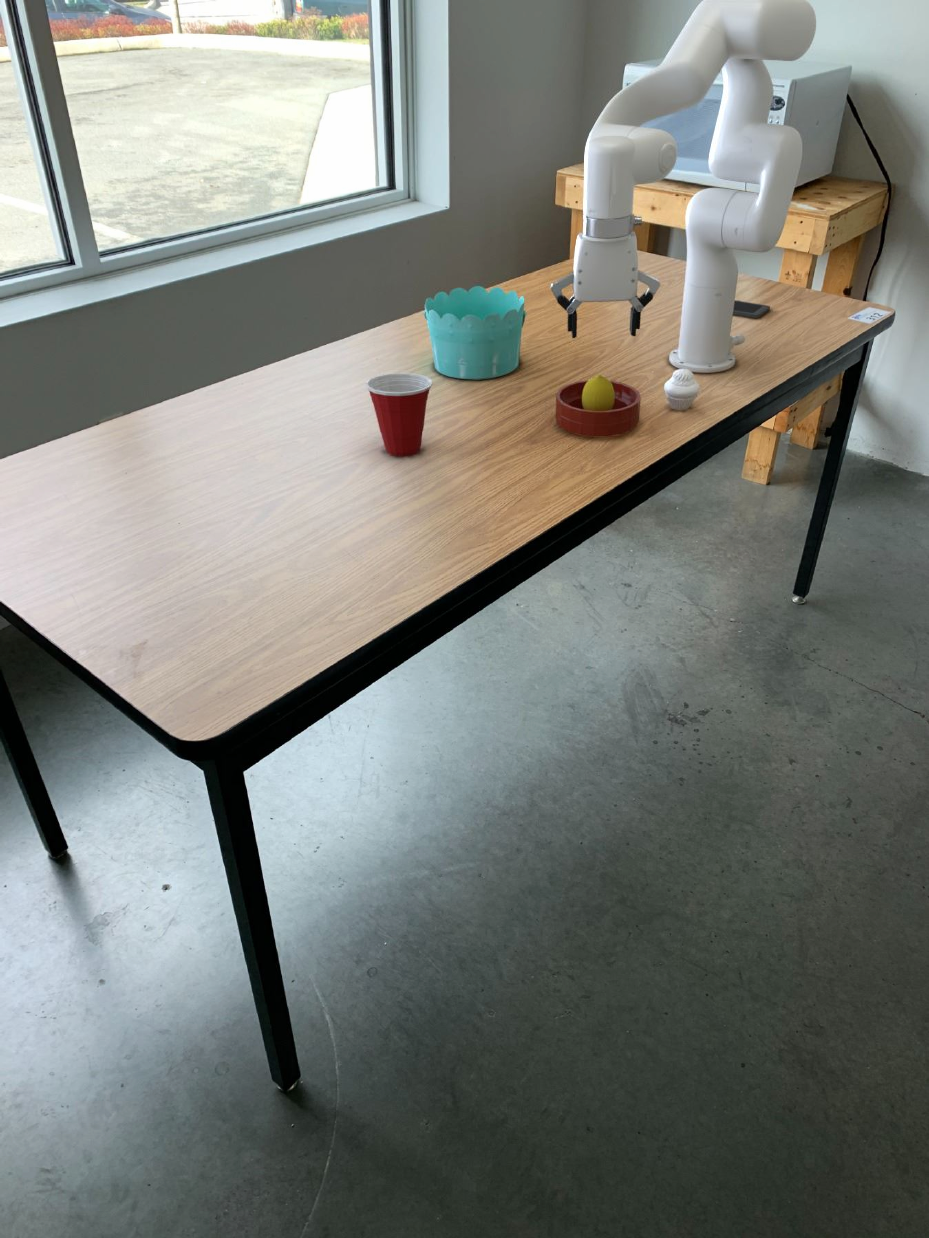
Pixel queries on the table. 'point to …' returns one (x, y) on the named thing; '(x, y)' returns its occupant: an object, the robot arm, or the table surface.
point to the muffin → (681, 389)
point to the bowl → (597, 422)
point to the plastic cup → (400, 410)
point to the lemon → (598, 394)
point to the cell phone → (749, 309)
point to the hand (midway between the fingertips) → (603, 334)
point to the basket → (475, 332)
